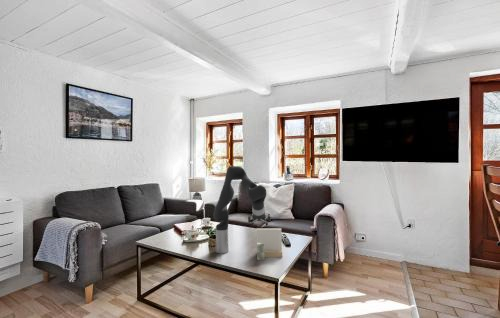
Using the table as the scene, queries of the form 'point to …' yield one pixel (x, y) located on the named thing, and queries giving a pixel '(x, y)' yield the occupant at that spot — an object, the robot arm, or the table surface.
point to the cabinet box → (260, 251)
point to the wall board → (270, 241)
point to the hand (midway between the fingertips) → (259, 224)
